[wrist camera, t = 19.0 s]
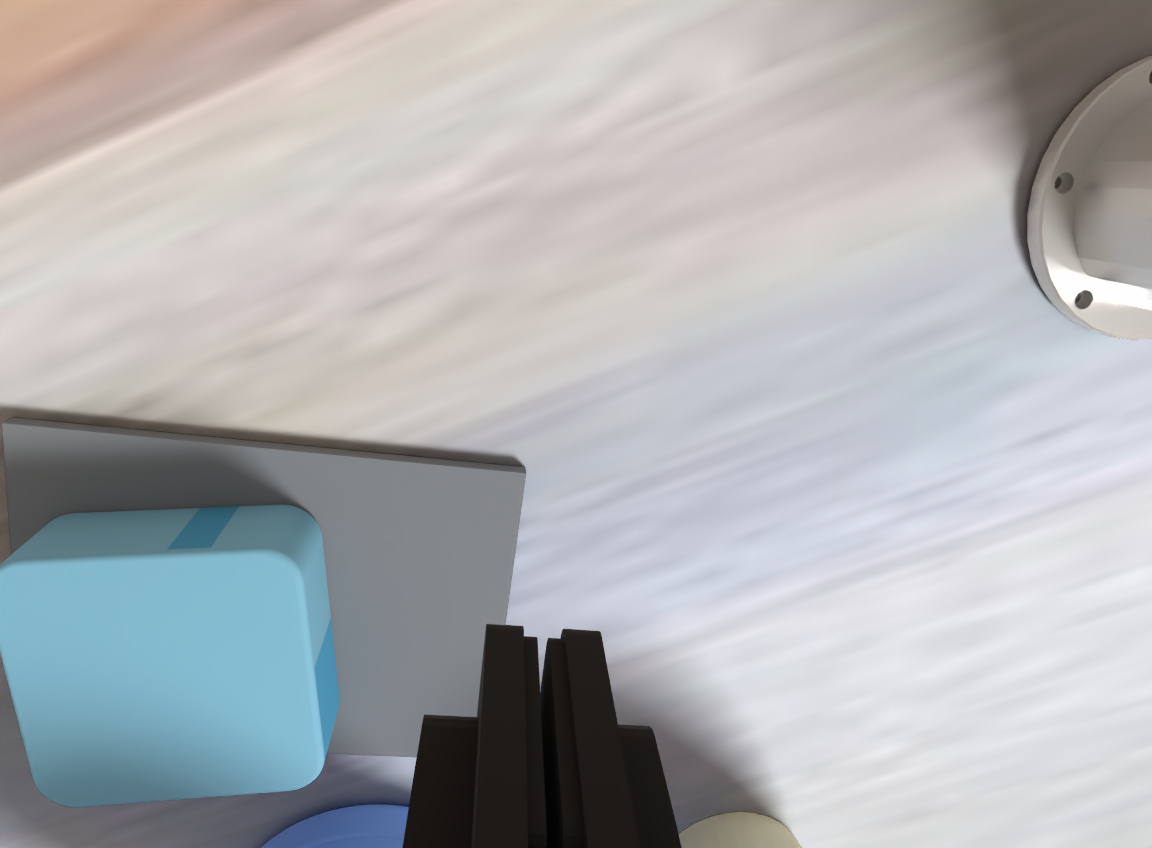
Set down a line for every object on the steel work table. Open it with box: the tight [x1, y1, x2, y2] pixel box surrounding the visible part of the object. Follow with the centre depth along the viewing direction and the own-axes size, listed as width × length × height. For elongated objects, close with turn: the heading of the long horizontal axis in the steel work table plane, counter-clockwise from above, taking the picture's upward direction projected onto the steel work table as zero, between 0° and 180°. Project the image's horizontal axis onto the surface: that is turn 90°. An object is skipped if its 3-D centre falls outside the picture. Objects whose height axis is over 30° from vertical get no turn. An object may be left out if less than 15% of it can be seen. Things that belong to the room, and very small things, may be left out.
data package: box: [0, 505, 340, 808], centre depth 35 cm, size 12×4×12 cm
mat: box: [2, 417, 526, 757], centre depth 38 cm, size 22×16×1 cm
